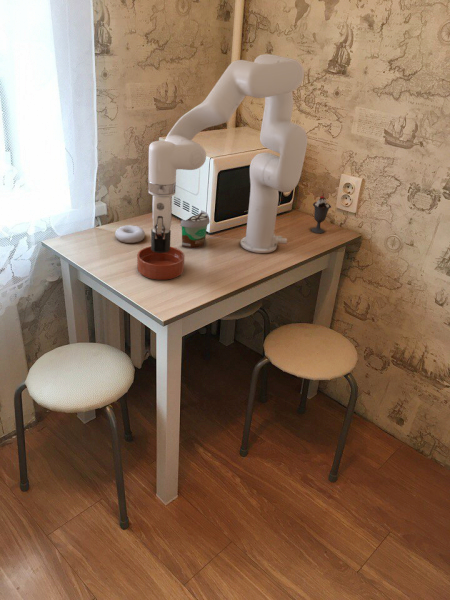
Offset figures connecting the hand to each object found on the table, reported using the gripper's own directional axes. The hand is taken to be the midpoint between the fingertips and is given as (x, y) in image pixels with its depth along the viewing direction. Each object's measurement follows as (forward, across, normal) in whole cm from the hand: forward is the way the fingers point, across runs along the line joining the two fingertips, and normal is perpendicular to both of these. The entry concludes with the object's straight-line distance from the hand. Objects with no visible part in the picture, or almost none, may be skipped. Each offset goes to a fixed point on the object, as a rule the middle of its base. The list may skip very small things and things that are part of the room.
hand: (160, 246), depth 152 cm
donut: (+8, +22, +12) cm, 26 cm away
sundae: (+8, +39, -56) cm, 69 cm away
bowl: (+8, 0, 0) cm, 8 cm away
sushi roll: (+1, 0, 0) cm, 1 cm away
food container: (+8, +20, -11) cm, 24 cm away
